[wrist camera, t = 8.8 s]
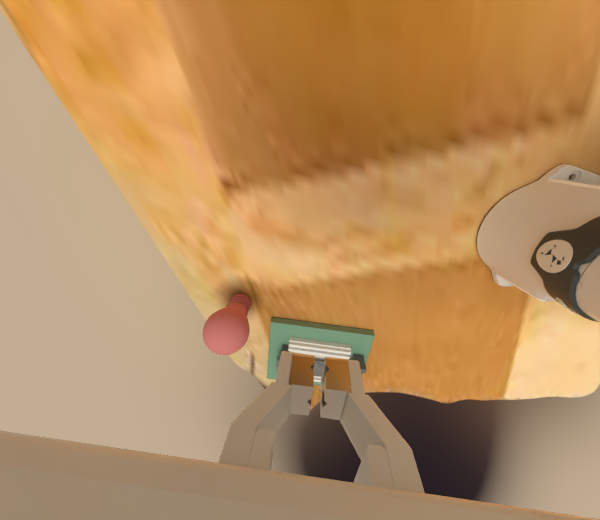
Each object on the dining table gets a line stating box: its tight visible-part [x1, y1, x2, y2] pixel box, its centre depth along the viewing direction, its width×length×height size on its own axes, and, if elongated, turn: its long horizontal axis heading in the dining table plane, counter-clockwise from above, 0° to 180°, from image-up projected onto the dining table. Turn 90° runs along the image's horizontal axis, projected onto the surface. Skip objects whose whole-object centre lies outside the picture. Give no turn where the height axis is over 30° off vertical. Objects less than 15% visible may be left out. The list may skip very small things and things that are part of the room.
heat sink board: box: [267, 317, 374, 386], centre depth 48 cm, size 20×16×5 cm
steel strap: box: [276, 356, 362, 377], centre depth 46 cm, size 17×3×2 cm, turn 84°
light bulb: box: [203, 294, 251, 355], centre depth 40 cm, size 7×7×12 cm
